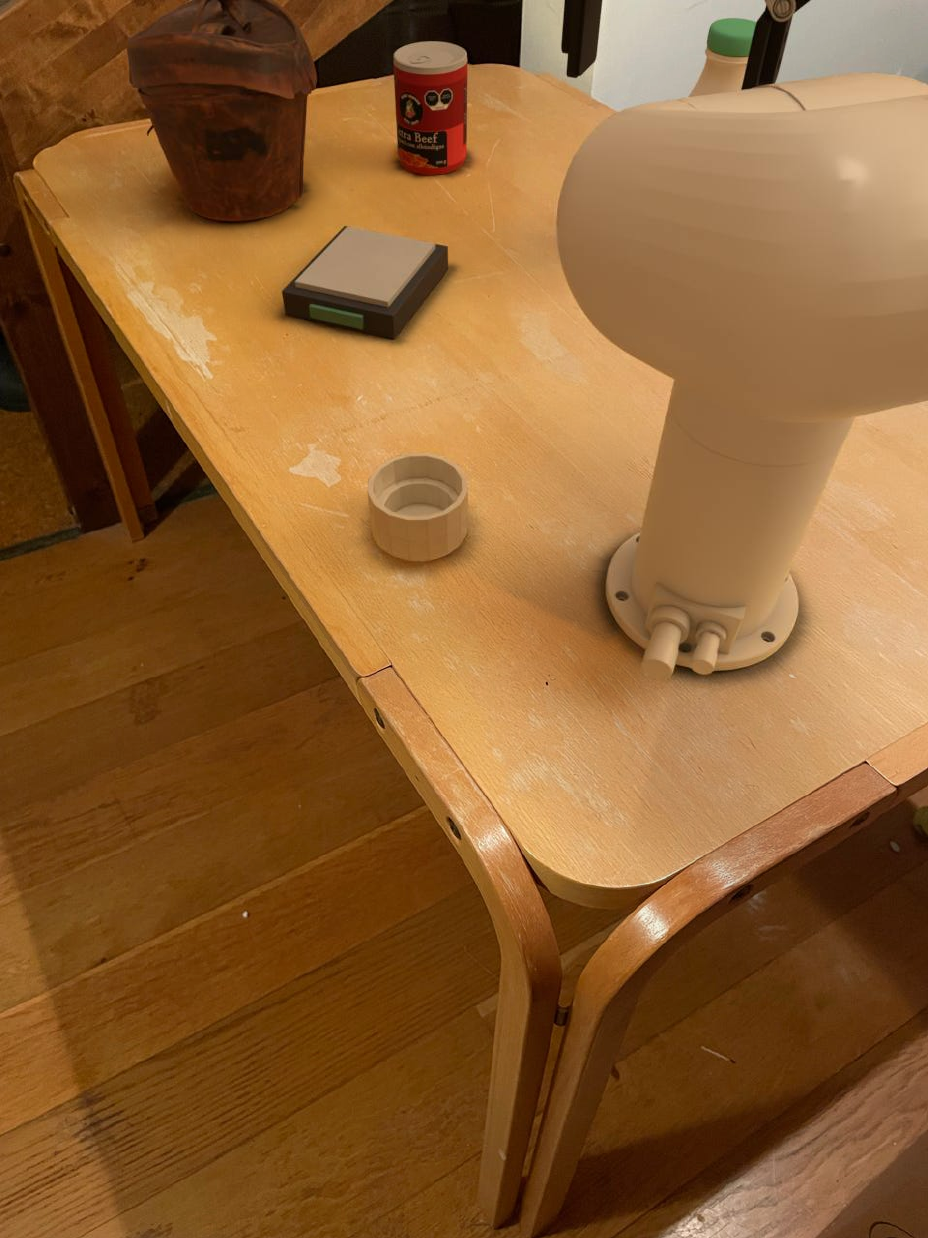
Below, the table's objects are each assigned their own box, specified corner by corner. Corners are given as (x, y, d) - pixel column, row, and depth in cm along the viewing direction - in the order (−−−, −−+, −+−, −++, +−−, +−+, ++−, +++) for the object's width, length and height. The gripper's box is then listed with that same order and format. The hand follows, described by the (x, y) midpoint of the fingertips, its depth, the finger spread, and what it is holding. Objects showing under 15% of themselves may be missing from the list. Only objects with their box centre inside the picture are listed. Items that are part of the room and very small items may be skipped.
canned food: (384, 165, 102) (378, 56, 93) (426, 140, 106) (423, 35, 98) (439, 182, 99) (437, 73, 91) (479, 157, 103) (481, 49, 95)
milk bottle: (701, 283, 86) (754, 48, 71) (636, 255, 89) (672, 25, 74) (743, 253, 90) (803, 24, 74) (679, 227, 93) (723, 3, 78)
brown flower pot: (278, 141, 106) (251, -42, 92) (360, 209, 95) (344, 14, 81) (133, 178, 99) (80, -12, 86) (203, 255, 89) (156, 52, 75)
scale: (392, 342, 79) (390, 312, 77) (282, 317, 82) (277, 287, 80) (448, 269, 87) (448, 239, 85) (347, 248, 90) (344, 219, 88)
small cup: (446, 577, 61) (445, 530, 58) (356, 551, 63) (351, 504, 60) (480, 513, 66) (481, 466, 62) (395, 490, 67) (392, 443, 64)
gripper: (504, -385, 36) (492, 81, 49) (954, -374, 32) (809, 137, 45) (568, -391, 41) (542, 38, 54) (972, -383, 36) (835, 85, 49)
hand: (663, 83), depth 49 cm, fingers open, 9 cm apart
